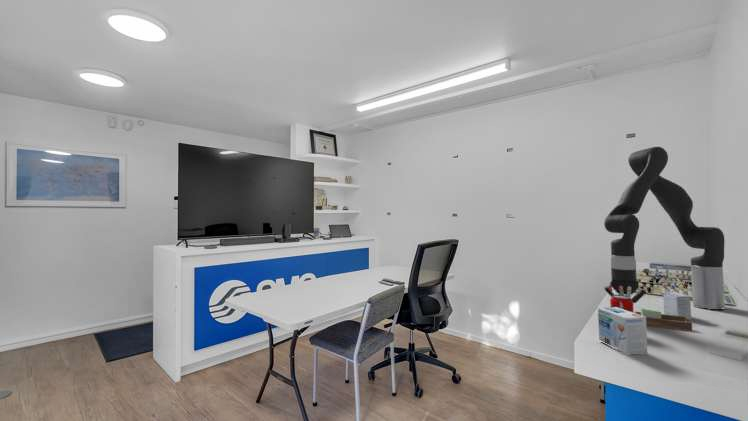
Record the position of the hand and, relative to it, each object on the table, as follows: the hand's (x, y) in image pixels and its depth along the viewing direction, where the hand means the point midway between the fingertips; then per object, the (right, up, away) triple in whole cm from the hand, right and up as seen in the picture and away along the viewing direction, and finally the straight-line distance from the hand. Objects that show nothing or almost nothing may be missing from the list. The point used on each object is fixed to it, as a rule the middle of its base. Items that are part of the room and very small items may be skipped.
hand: (625, 313), depth 123 cm
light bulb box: (-20, -3, -24) cm, 32 cm away
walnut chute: (+9, -2, -5) cm, 11 cm away
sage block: (+6, -2, -4) cm, 8 cm away
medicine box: (+22, -2, +2) cm, 22 cm away
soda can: (-10, -3, -12) cm, 16 cm away
